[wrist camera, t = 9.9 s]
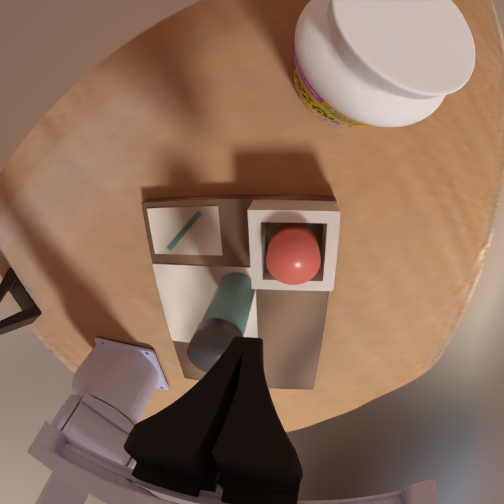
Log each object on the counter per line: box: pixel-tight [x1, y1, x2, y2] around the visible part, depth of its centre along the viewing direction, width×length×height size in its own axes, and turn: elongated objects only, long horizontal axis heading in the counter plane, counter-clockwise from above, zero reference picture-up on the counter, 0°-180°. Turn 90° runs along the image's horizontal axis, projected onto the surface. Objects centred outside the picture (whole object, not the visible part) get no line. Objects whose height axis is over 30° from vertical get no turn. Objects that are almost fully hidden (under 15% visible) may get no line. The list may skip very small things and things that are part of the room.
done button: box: [266, 223, 321, 285], centre depth 18 cm, size 3×3×2 cm
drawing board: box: [142, 195, 336, 390], centre depth 24 cm, size 15×21×1 cm
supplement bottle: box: [294, 0, 475, 127], centre depth 10 cm, size 7×7×13 cm
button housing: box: [248, 200, 340, 291], centre depth 19 cm, size 6×6×2 cm
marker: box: [187, 272, 255, 373], centre depth 19 cm, size 3×3×8 cm
